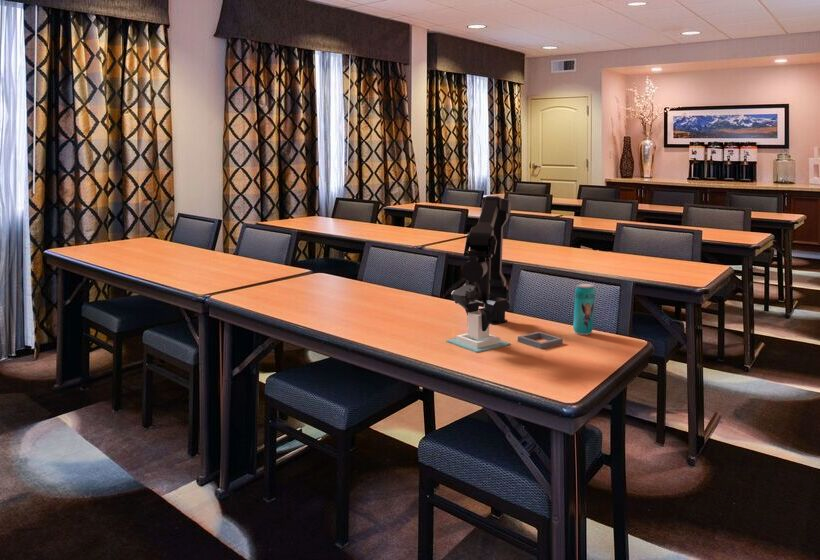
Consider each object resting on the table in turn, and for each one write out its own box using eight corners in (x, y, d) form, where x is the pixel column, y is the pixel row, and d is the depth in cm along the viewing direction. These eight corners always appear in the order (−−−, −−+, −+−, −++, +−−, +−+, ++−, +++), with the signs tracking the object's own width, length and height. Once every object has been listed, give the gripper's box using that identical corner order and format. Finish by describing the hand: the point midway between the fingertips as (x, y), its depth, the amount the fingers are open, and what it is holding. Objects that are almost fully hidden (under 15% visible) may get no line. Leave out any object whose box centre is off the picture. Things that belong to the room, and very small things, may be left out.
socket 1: (445, 341, 180) (446, 335, 179) (479, 334, 187) (479, 328, 187) (476, 352, 169) (476, 346, 169) (510, 344, 177) (510, 338, 177)
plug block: (467, 336, 179) (467, 312, 177) (479, 333, 181) (480, 310, 180) (477, 339, 175) (478, 315, 174) (490, 337, 178) (491, 313, 177)
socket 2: (517, 341, 180) (517, 336, 180) (538, 336, 186) (538, 331, 185) (541, 349, 173) (541, 343, 173) (562, 343, 179) (562, 338, 178)
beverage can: (579, 336, 186) (582, 287, 183) (569, 331, 191) (572, 283, 188) (596, 335, 187) (599, 286, 184) (585, 330, 193) (588, 282, 190)
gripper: (436, 273, 177) (435, 326, 180) (481, 284, 163) (480, 341, 166) (465, 269, 184) (464, 320, 187) (511, 279, 169) (509, 334, 172)
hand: (478, 329), depth 178 cm, fingers closed on plug block, 4 cm apart
